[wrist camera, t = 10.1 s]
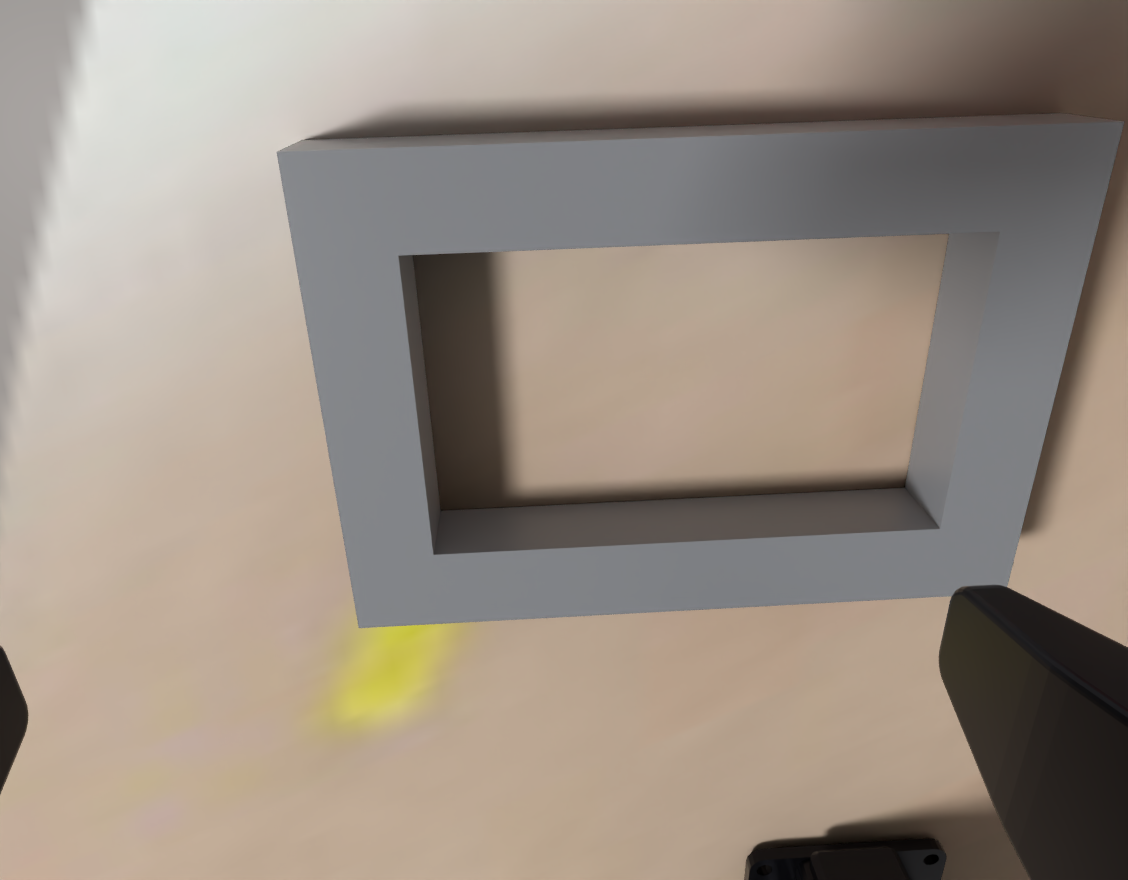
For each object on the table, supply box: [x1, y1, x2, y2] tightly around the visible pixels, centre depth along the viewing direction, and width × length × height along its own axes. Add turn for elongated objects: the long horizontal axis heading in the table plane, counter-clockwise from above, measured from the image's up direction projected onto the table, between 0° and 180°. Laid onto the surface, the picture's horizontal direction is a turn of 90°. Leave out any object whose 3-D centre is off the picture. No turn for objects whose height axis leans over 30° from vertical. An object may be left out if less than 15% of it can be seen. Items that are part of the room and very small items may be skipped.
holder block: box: [277, 113, 1124, 628], centre depth 19 cm, size 11×16×2 cm
